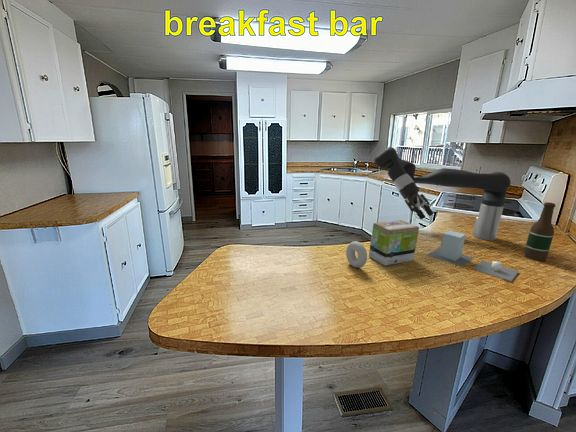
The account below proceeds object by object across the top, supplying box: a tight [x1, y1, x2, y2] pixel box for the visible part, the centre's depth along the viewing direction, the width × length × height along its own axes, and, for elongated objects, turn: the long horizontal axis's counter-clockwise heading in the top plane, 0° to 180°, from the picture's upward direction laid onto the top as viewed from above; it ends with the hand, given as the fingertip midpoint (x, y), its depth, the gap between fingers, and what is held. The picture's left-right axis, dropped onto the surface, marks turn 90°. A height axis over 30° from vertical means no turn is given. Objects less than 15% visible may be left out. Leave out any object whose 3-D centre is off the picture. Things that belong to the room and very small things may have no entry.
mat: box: [425, 247, 474, 268], centre depth 119 cm, size 14×14×1 cm
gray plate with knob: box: [472, 260, 520, 283], centre depth 107 cm, size 12×12×4 cm
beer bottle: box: [523, 201, 556, 262], centre depth 119 cm, size 8×8×24 cm
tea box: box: [368, 219, 420, 267], centre depth 114 cm, size 15×10×15 cm
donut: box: [345, 240, 368, 269], centre depth 106 cm, size 10×3×10 cm, turn 26°
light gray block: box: [439, 229, 467, 261], centre depth 118 cm, size 6×6×10 cm
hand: (427, 216), depth 123 cm, fingers open, 8 cm apart
